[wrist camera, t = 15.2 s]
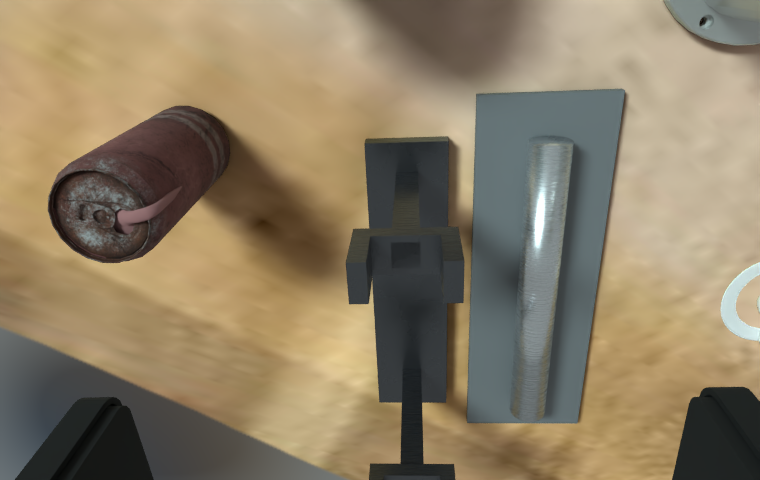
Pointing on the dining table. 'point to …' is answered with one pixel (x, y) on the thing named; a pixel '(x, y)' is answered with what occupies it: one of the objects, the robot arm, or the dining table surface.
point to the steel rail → (539, 272)
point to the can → (138, 184)
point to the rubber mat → (504, 230)
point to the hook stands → (408, 284)
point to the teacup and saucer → (729, 305)
